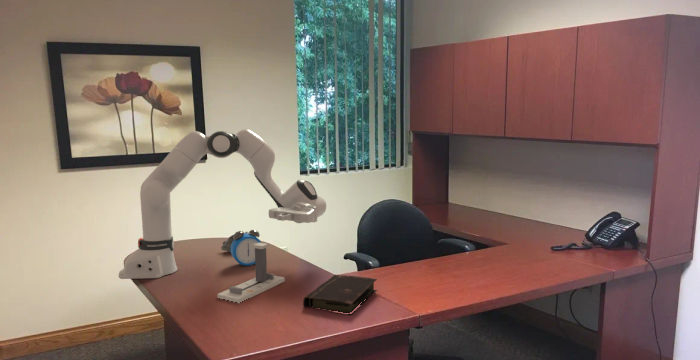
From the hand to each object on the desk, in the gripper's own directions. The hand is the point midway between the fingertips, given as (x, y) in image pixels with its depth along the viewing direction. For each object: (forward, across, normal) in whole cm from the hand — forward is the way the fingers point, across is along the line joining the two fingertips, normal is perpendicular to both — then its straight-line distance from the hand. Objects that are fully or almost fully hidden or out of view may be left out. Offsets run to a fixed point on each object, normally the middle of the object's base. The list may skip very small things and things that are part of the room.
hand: (279, 218), depth 196 cm
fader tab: (+12, 0, +22) cm, 25 cm away
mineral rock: (-19, -40, +24) cm, 51 cm away
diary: (+9, +34, +25) cm, 43 cm away
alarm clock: (-6, -23, +24) cm, 33 cm away
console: (+17, 0, +24) cm, 29 cm away
